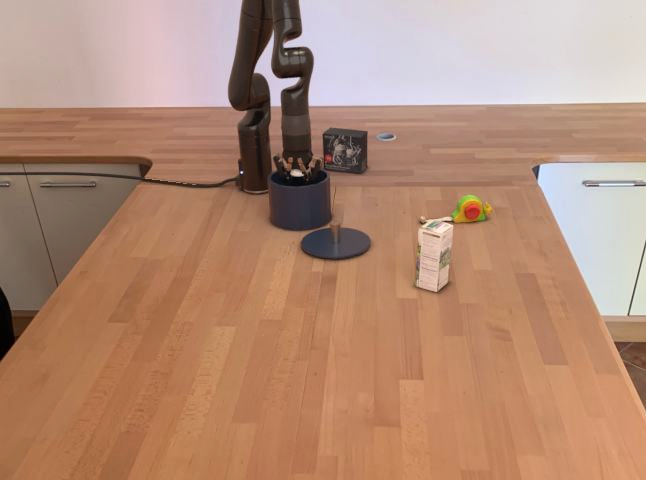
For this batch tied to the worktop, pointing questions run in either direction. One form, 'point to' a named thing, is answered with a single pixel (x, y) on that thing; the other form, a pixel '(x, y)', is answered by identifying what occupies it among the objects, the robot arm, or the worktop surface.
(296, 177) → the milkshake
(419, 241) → the syrup box
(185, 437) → the worktop surface
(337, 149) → the small box
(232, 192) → the worktop surface
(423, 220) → the toy measuring tape
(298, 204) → the tin
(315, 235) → the tin lid
